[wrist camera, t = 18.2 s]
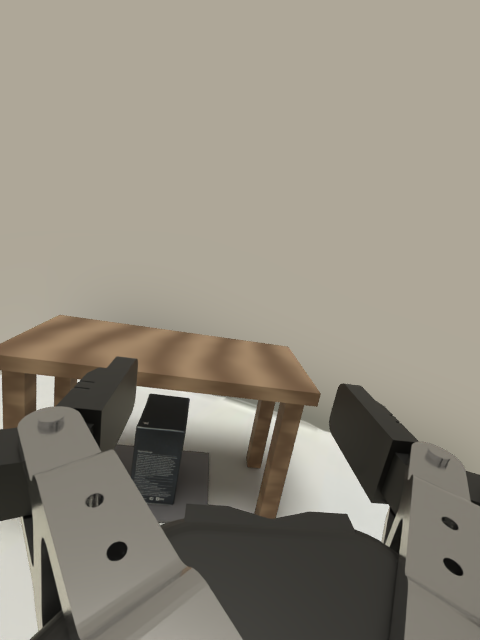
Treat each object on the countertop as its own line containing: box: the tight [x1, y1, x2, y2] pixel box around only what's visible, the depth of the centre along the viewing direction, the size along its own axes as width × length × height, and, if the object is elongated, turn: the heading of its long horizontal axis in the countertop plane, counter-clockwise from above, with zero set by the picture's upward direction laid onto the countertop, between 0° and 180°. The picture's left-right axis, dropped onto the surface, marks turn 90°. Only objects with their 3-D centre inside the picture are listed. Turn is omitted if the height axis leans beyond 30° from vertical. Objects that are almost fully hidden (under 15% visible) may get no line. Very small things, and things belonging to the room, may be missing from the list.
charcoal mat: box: [114, 445, 209, 523], centre depth 40 cm, size 14×12×1 cm
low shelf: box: [0, 315, 320, 519], centre depth 38 cm, size 32×14×19 cm, turn 94°
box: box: [131, 394, 190, 506], centre depth 39 cm, size 8×6×11 cm
